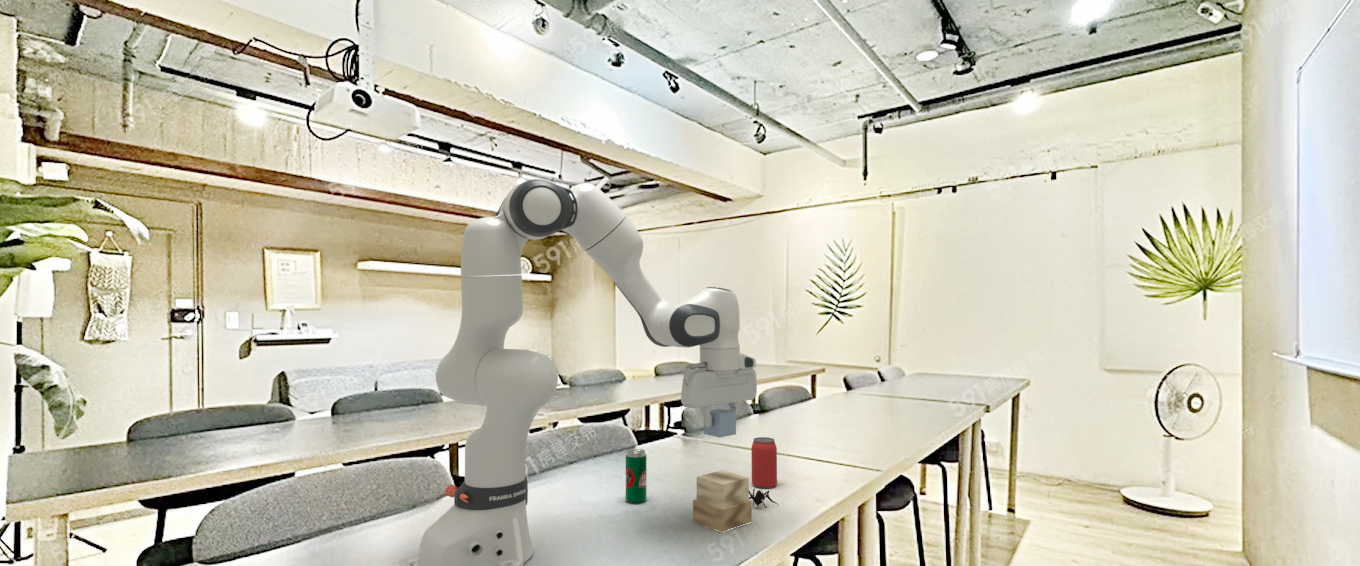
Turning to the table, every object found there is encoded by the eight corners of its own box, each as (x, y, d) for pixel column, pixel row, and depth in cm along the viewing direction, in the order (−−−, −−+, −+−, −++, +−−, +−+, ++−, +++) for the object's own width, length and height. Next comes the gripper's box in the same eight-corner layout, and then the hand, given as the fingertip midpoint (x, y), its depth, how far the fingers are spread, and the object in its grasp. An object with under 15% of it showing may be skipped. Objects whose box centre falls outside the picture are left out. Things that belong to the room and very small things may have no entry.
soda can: (643, 504, 146) (643, 453, 147) (623, 503, 147) (623, 452, 148) (648, 498, 151) (648, 448, 152) (628, 497, 152) (628, 448, 153)
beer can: (747, 483, 163) (746, 438, 164) (768, 480, 166) (767, 435, 167) (760, 490, 157) (760, 443, 158) (782, 487, 160) (781, 440, 161)
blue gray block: (719, 437, 132) (719, 414, 132) (703, 433, 135) (703, 410, 136) (736, 434, 135) (735, 411, 135) (719, 430, 139) (719, 408, 139)
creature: (751, 503, 151) (738, 505, 144) (752, 480, 152) (740, 481, 145) (781, 508, 147) (770, 510, 140) (783, 485, 148) (772, 485, 141)
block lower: (722, 534, 128) (722, 509, 128) (693, 522, 135) (692, 499, 135) (751, 524, 134) (751, 500, 134) (722, 513, 140) (722, 491, 141)
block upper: (722, 508, 129) (722, 484, 129) (696, 499, 135) (696, 476, 135) (748, 500, 134) (748, 477, 134) (722, 492, 140) (722, 470, 140)
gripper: (694, 365, 126) (694, 433, 126) (761, 359, 140) (761, 420, 139) (674, 363, 131) (674, 428, 131) (740, 357, 145) (741, 417, 144)
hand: (720, 424), depth 135 cm, fingers closed on blue gray block, 5 cm apart
